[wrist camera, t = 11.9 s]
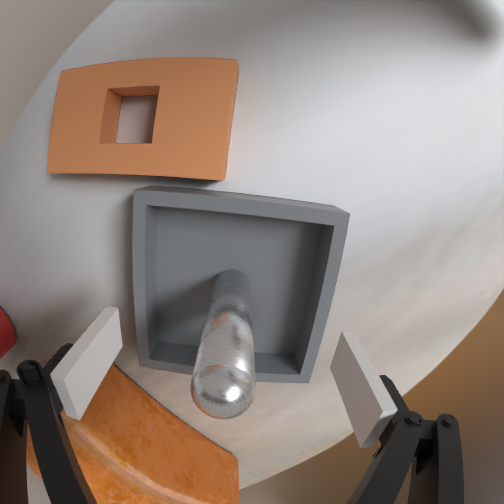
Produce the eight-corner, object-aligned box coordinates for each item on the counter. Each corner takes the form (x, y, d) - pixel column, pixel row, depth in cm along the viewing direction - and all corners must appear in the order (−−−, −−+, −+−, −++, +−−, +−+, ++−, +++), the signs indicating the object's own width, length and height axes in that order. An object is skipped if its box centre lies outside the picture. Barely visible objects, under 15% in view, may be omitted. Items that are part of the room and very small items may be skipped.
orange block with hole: (238, 72, 20) (237, 59, 17) (225, 179, 22) (221, 180, 19) (78, 78, 19) (61, 71, 16) (65, 171, 21) (47, 173, 18)
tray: (333, 205, 23) (350, 213, 19) (301, 357, 27) (308, 383, 23) (151, 185, 22) (133, 189, 18) (151, 341, 26) (139, 365, 22)
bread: (182, 477, 35) (171, 553, 20) (50, 378, 28) (-4, 456, 13) (248, 457, 33) (250, 551, 17) (97, 337, 26) (24, 444, 11)
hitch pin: (252, 271, 23) (261, 390, 10) (248, 304, 24) (252, 433, 11) (215, 267, 23) (185, 383, 10) (212, 300, 24) (186, 427, 11)
